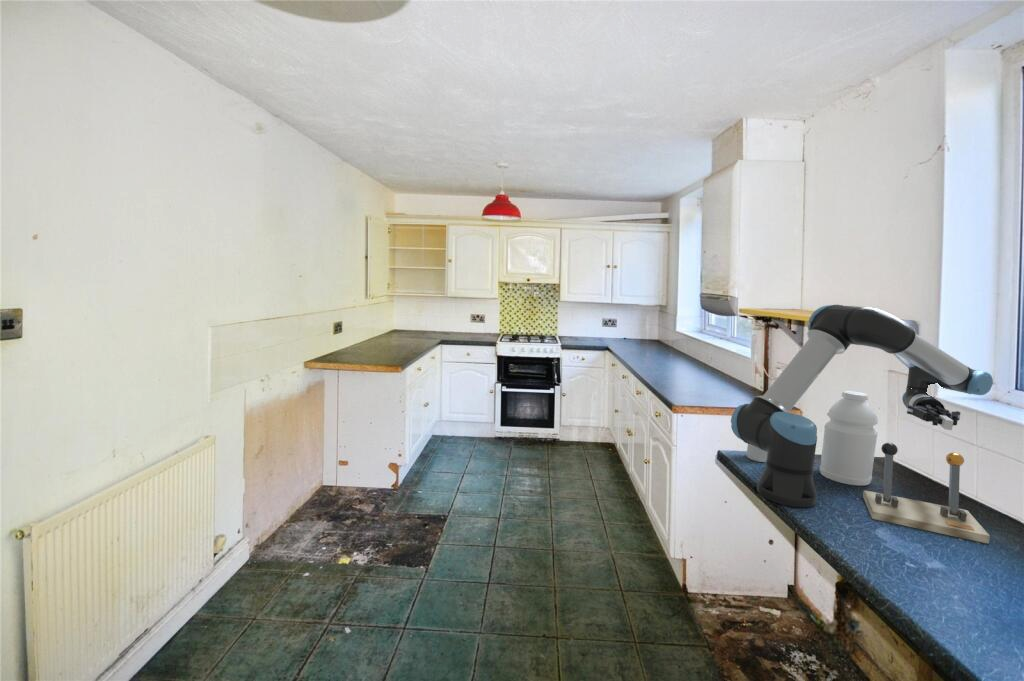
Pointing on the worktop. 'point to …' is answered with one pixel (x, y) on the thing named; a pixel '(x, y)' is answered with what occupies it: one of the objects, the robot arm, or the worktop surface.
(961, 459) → the orange knob lever
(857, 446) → the bottle
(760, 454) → the milk bottle
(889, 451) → the black knob lever
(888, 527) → the worktop surface
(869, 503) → the switch board
